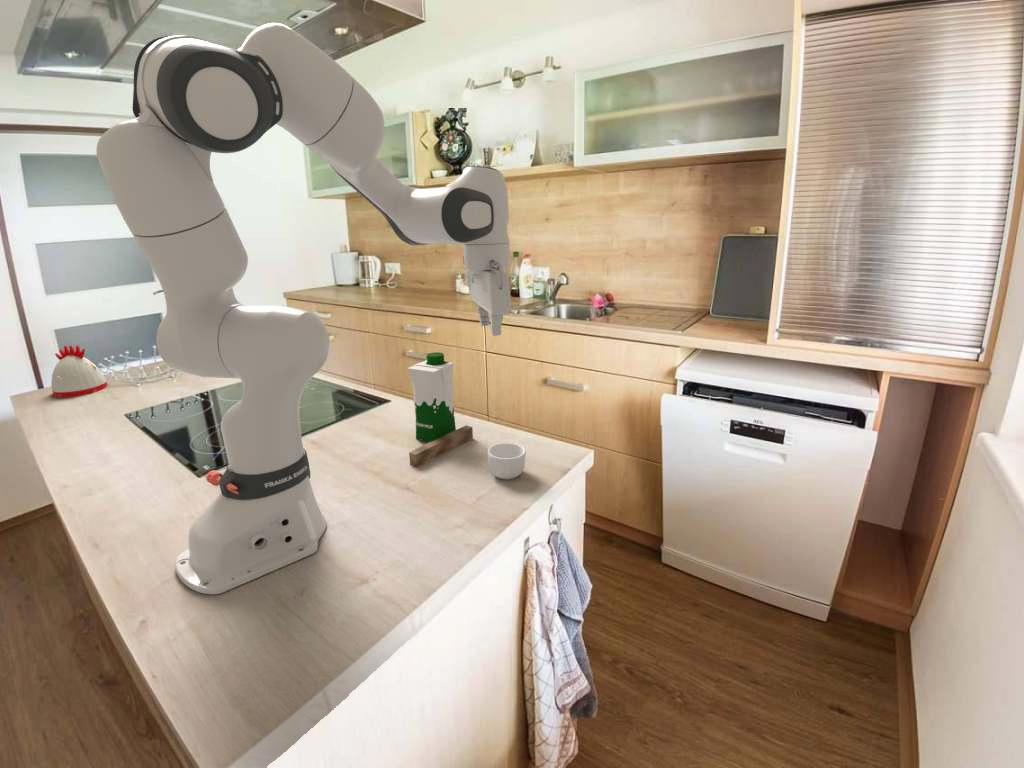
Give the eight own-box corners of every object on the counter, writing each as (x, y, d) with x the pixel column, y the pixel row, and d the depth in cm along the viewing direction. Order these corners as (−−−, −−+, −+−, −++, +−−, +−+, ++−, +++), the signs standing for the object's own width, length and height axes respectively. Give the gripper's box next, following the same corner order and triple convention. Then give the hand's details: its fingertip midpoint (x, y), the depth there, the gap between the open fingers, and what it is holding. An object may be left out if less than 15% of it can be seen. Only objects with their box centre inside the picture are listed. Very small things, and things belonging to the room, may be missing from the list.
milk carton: (461, 432, 127) (456, 353, 121) (440, 446, 119) (433, 363, 113) (432, 426, 131) (426, 350, 125) (409, 440, 123) (402, 359, 117)
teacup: (533, 473, 106) (533, 450, 104) (507, 487, 101) (506, 462, 99) (500, 459, 112) (499, 436, 111) (473, 471, 107) (472, 447, 106)
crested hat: (94, 394, 163) (80, 349, 159) (43, 399, 160) (28, 352, 156) (115, 381, 176) (103, 339, 171) (69, 385, 173) (55, 342, 169)
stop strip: (416, 467, 110) (415, 454, 109) (410, 464, 111) (408, 452, 110) (473, 438, 123) (472, 427, 122) (466, 436, 124) (466, 425, 123)
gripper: (518, 262, 90) (520, 339, 94) (490, 254, 108) (493, 319, 113) (482, 264, 88) (486, 343, 92) (461, 256, 107) (465, 321, 111)
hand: (490, 329), depth 103 cm, fingers open, 8 cm apart
